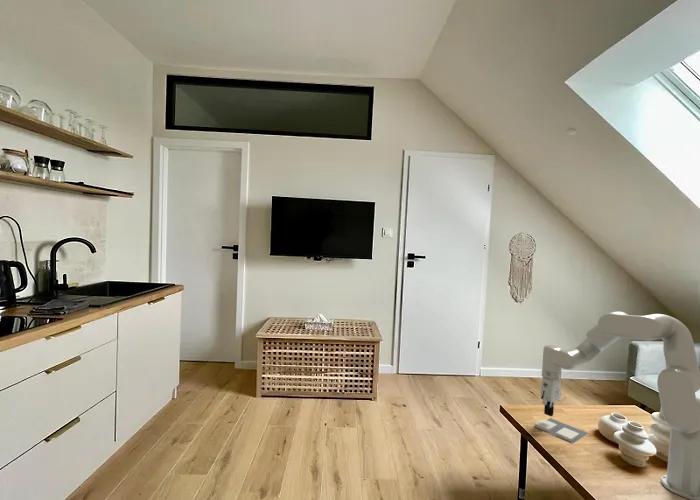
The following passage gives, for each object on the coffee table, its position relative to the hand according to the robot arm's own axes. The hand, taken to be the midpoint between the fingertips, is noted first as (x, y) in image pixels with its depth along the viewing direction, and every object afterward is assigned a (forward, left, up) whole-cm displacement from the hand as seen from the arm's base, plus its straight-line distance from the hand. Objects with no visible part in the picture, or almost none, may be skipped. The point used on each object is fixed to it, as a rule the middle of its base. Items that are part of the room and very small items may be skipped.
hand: (548, 414), depth 167 cm
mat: (-5, -1, -6) cm, 8 cm away
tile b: (0, -2, -4) cm, 5 cm away
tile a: (-9, -2, -4) cm, 10 cm away
